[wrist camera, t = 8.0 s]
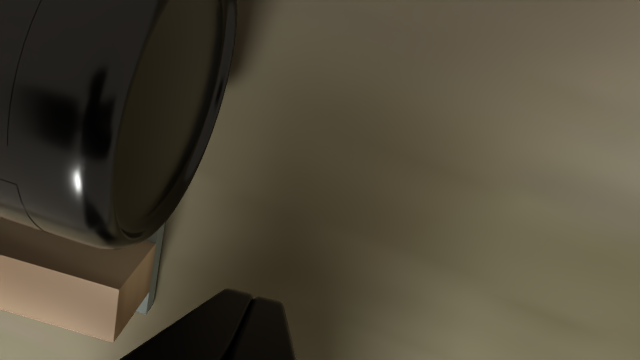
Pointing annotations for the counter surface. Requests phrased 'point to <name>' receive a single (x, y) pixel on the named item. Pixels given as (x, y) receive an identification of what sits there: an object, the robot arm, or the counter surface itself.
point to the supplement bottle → (107, 111)
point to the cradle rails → (72, 280)
